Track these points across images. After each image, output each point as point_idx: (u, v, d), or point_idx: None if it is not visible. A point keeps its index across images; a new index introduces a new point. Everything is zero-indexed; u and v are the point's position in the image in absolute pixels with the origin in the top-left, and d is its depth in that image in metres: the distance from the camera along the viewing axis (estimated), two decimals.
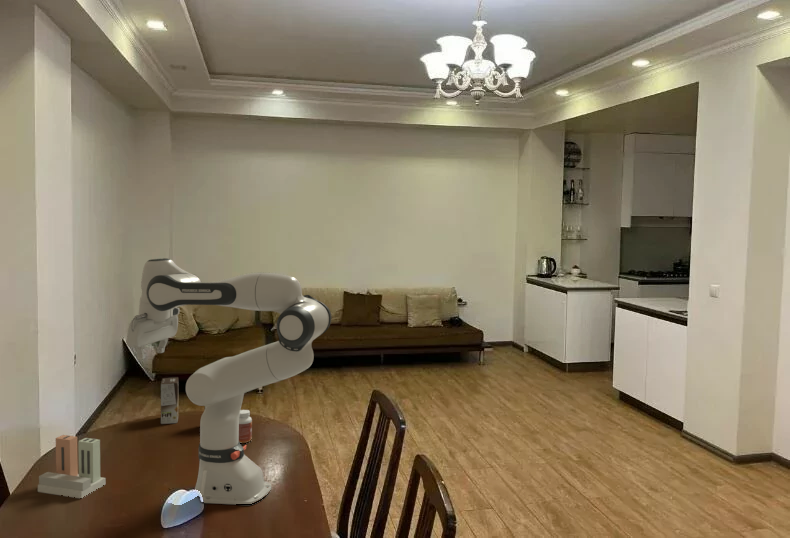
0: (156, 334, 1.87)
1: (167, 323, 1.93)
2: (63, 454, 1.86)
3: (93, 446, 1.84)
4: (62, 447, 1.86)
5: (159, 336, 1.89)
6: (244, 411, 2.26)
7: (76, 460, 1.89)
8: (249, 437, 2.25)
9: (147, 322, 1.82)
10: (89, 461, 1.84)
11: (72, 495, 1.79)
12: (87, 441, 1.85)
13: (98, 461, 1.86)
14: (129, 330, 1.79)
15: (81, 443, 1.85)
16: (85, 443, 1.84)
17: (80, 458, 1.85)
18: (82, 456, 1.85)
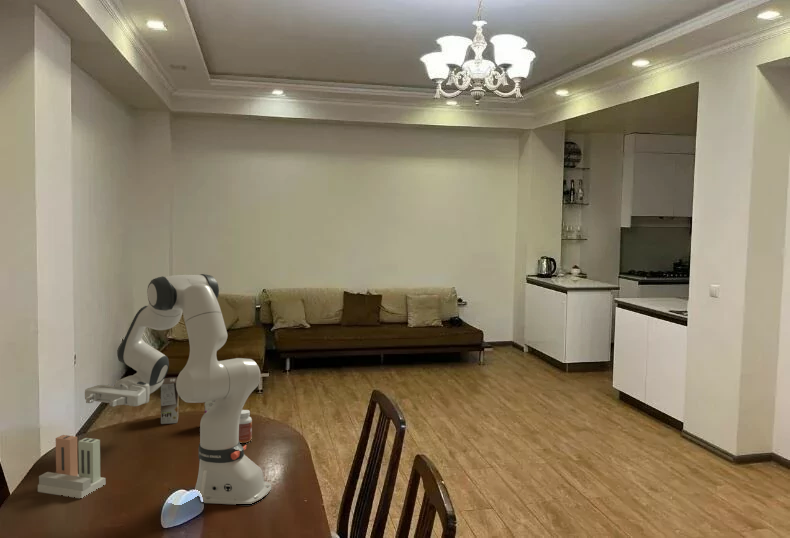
0: (112, 390, 2.08)
1: (131, 391, 2.09)
2: (63, 454, 1.86)
3: (93, 446, 1.84)
4: (62, 447, 1.86)
5: (114, 391, 2.07)
6: (244, 411, 2.26)
7: (76, 460, 1.89)
8: (249, 437, 2.25)
9: (108, 385, 2.13)
10: (89, 461, 1.84)
11: (72, 495, 1.79)
12: (87, 441, 1.85)
13: (98, 461, 1.86)
14: None
15: (81, 443, 1.85)
16: (85, 443, 1.84)
17: (80, 458, 1.85)
18: (82, 456, 1.85)
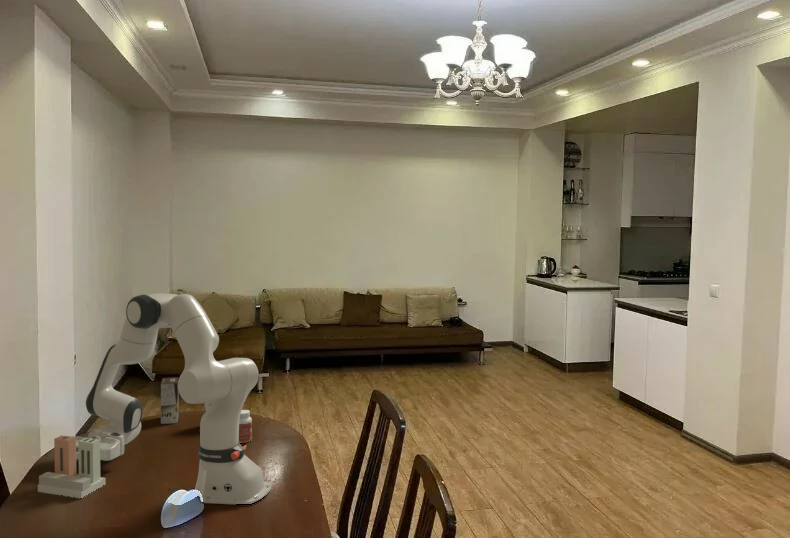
0: None
1: (104, 443, 1.97)
2: (62, 455, 1.86)
3: (93, 446, 1.84)
4: (61, 448, 1.86)
5: None
6: (244, 411, 2.26)
7: (75, 461, 1.88)
8: (249, 437, 2.25)
9: (81, 437, 2.02)
10: (89, 461, 1.84)
11: (72, 495, 1.79)
12: (87, 441, 1.85)
13: (98, 461, 1.86)
14: None
15: (81, 443, 1.85)
16: (85, 443, 1.84)
17: (80, 458, 1.85)
18: (82, 456, 1.85)
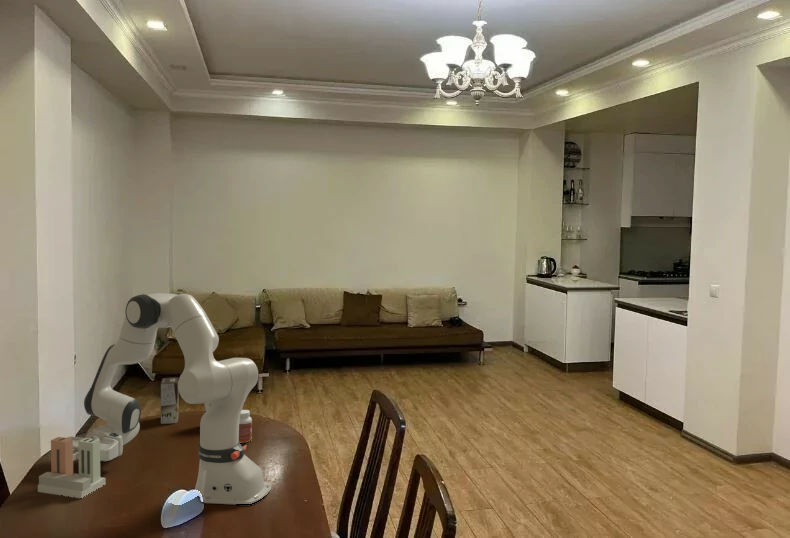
0: None
1: (103, 444, 1.96)
2: (58, 457, 1.85)
3: (93, 446, 1.84)
4: (57, 449, 1.84)
5: None
6: (244, 411, 2.26)
7: (71, 462, 1.87)
8: (249, 437, 2.25)
9: (79, 437, 2.01)
10: (89, 461, 1.84)
11: (72, 495, 1.79)
12: (87, 441, 1.85)
13: (98, 461, 1.86)
14: None
15: (81, 443, 1.85)
16: (85, 443, 1.84)
17: (80, 458, 1.85)
18: (82, 456, 1.85)
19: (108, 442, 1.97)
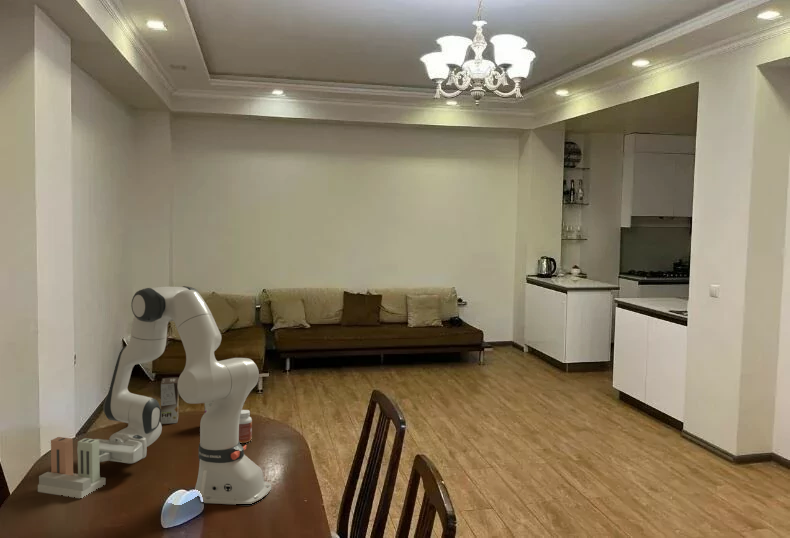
0: (106, 446, 1.94)
1: (127, 446, 1.95)
2: (58, 457, 1.85)
3: (92, 446, 1.84)
4: (57, 449, 1.84)
5: (108, 447, 1.93)
6: (244, 411, 2.26)
7: (71, 462, 1.87)
8: (249, 437, 2.25)
9: (102, 439, 2.00)
10: (88, 462, 1.84)
11: (72, 495, 1.79)
12: (86, 441, 1.85)
13: (97, 461, 1.86)
14: None
15: (80, 443, 1.84)
16: (84, 443, 1.84)
17: (79, 458, 1.85)
18: (81, 456, 1.84)
19: (132, 444, 1.96)
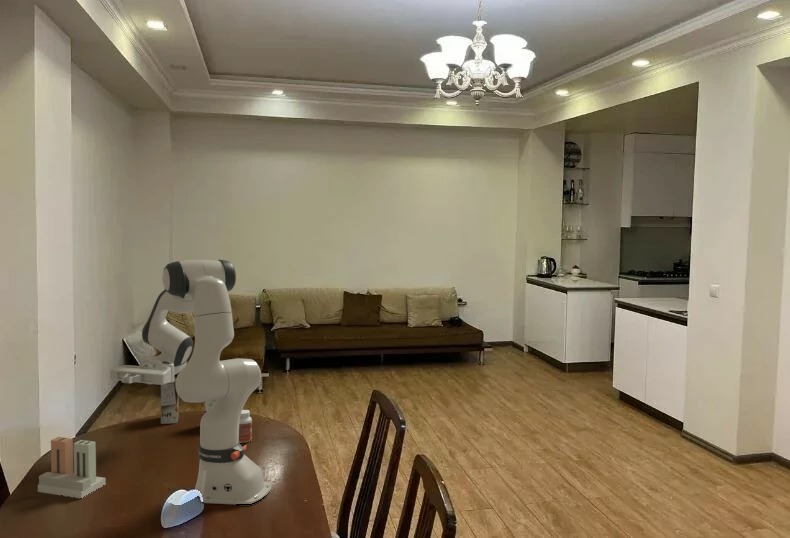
0: (137, 369, 2.07)
1: (156, 370, 2.08)
2: (58, 457, 1.85)
3: (88, 448, 1.82)
4: (57, 449, 1.84)
5: (139, 370, 2.06)
6: (244, 411, 2.26)
7: (71, 462, 1.87)
8: (249, 437, 2.25)
9: None
10: (85, 464, 1.83)
11: (72, 495, 1.79)
12: (83, 443, 1.83)
13: (94, 463, 1.85)
14: None
15: (76, 445, 1.83)
16: (80, 445, 1.82)
17: (75, 460, 1.83)
18: (77, 458, 1.83)
19: (161, 369, 2.09)
